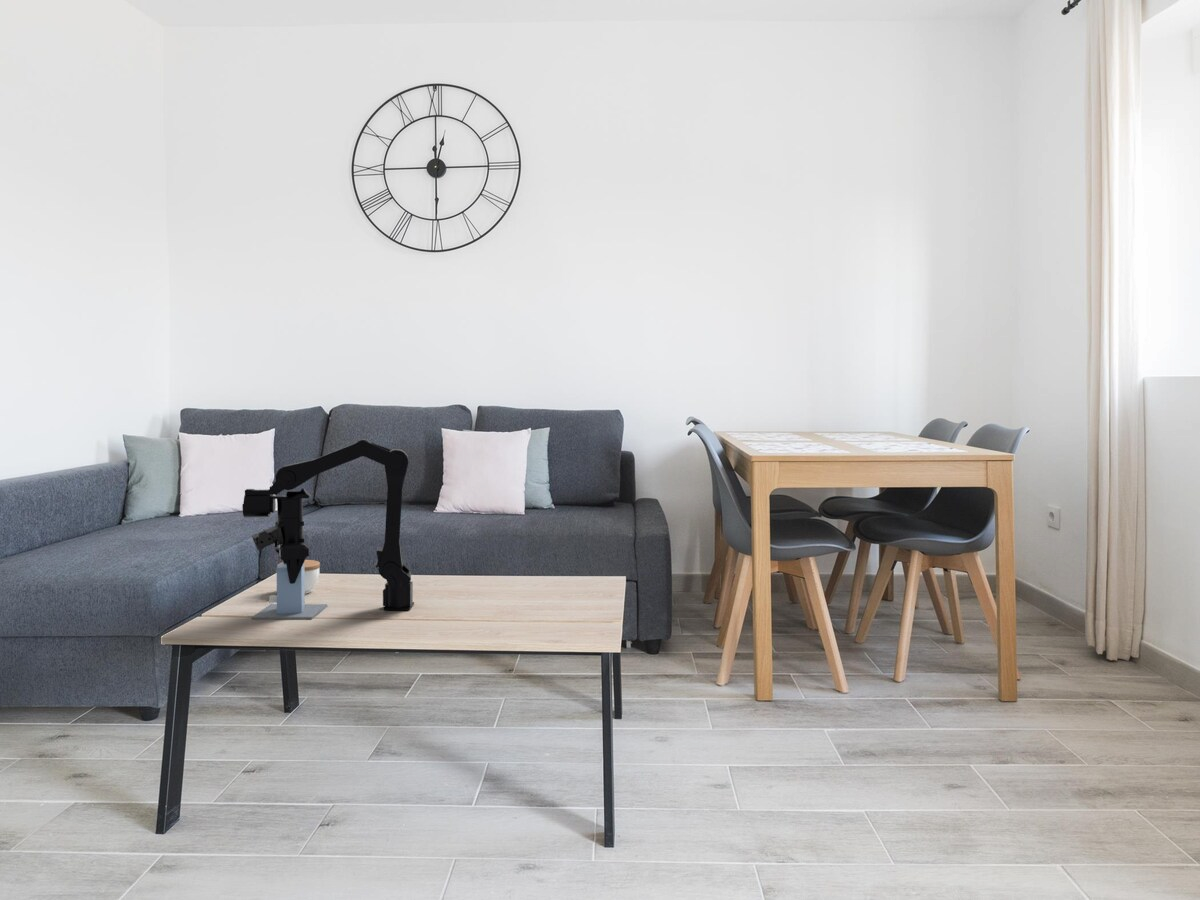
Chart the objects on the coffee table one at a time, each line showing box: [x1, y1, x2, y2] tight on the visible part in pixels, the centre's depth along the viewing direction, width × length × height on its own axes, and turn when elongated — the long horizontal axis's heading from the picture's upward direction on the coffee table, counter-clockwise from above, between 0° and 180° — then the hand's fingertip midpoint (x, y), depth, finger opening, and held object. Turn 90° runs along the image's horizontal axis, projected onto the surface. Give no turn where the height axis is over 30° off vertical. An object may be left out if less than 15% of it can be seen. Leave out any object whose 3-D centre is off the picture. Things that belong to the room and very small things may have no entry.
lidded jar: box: [276, 559, 321, 595], centre depth 215 cm, size 11×11×9 cm
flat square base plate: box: [251, 603, 328, 620], centre depth 195 cm, size 14×12×4 cm
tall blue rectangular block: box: [268, 563, 306, 614], centre depth 194 cm, size 8×6×11 cm
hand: (290, 580), depth 195 cm, fingers closed on tall blue rectangular block, 6 cm apart
